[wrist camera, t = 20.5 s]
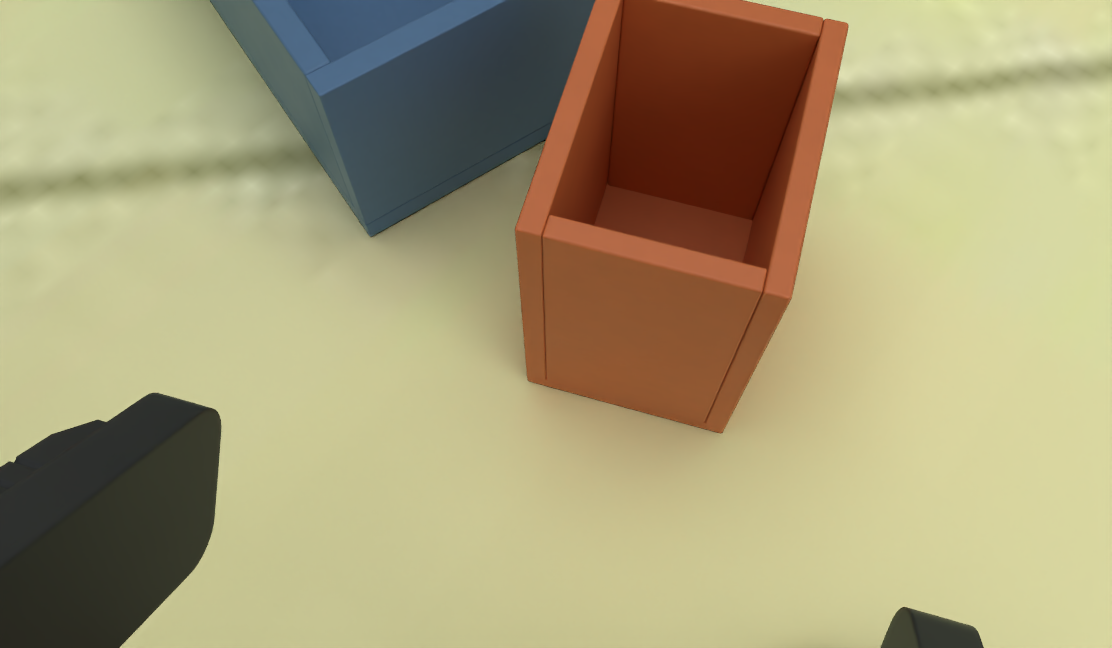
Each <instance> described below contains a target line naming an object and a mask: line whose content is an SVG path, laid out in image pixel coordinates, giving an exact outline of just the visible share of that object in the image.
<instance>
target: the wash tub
mask: <svg viewBox="0 0 1112 648" xmlns="http://www.w3.org/2000/svg"><path fill="white" fill-rule="evenodd" d="M210 2H211V3H212V5H213V6H214V8H215V9H216V11H217V12H218V13H219V15H220V16H221V18H222V19H223V21H224V22H225V24H226V25H227V27H228V28H229V30H230V31H231V33H232V34H233V36H234V37H235V39H236V40H237V41H238V43H239V44H240V46H241V47H242V49H243V50H244V52H245V53H246V55H247V56H248V58H249V59H250V61H251V62H252V64H253V65H254V67H255V68H256V69H257V71H258V72H259V74H260V75H261V77H262V78H263V80H264V81H265V83H266V84H267V86H268V87H269V89H270V90H271V92H272V93H273V95H274V96H275V97H276V99H277V100H278V102H279V103H280V105H281V106H282V108H283V109H284V111H285V112H286V114H287V115H288V117H289V118H290V120H291V121H292V123H293V124H294V125H295V127H296V128H297V130H298V131H299V133H300V134H301V136H302V137H303V139H304V140H305V142H306V143H307V145H308V146H309V148H310V149H311V151H312V152H313V153H314V155H315V156H316V158H317V159H318V161H319V162H320V164H321V165H322V167H323V168H324V170H325V171H326V173H327V174H328V176H329V177H330V179H331V180H332V181H333V183H334V184H335V186H336V187H337V189H338V190H339V192H340V193H341V195H342V196H343V198H344V199H345V201H346V202H347V204H348V205H349V206H350V208H351V209H352V211H353V212H354V214H355V215H356V217H357V218H358V220H359V221H360V223H361V224H362V226H363V227H364V229H365V230H366V232H367V233H368V234H369V236H370V237H372V236H374V235H375V234H377V233H379V232H381V231H382V230H384V229H386V228H388V227H390V226H391V225H393V224H395V223H397V222H399V221H400V220H402V219H404V218H406V217H407V216H409V215H411V214H413V213H415V212H416V211H418V210H420V209H422V208H423V207H425V206H427V205H429V204H431V203H432V202H434V201H436V200H438V199H440V198H441V197H443V196H445V195H447V194H448V193H450V192H452V191H454V190H456V189H457V188H459V187H461V186H463V185H465V184H466V183H468V182H470V181H472V180H473V179H475V178H477V177H479V176H481V175H482V174H484V173H486V172H488V171H489V170H491V169H493V168H495V167H497V166H498V165H500V164H502V163H504V162H506V161H507V160H509V159H511V158H513V157H514V156H516V155H518V154H520V153H522V152H523V151H525V150H527V149H529V148H531V147H532V146H534V145H536V144H538V143H539V142H541V141H543V140H545V139H547V136H548V133H549V130H550V128H551V125H552V122H553V119H554V116H555V113H556V111H557V108H558V105H559V102H560V99H561V96H562V93H563V91H564V88H565V85H566V82H567V79H568V76H569V74H570V71H571V68H572V65H573V62H574V59H575V56H576V54H577V51H578V48H579V45H580V42H581V39H582V37H583V34H584V31H585V28H586V25H587V22H588V19H589V17H590V14H591V11H592V8H593V5H594V2H595V0H210Z"/></svg>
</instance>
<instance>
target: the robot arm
mask: <svg viewBox="0 0 1112 648" xmlns="http://www.w3.org/2000/svg"><path fill="white" fill-rule="evenodd" d="M220 440H221V419H220V416H219V414H218V412H217V411H216V410H215V409H212V408H209V407H205V406H202V405H198V404H195V403H191V402H188V401H184V400H181V399H177V398H174V397H170V396H167V395H163V394H160V393H151V394H148V395H146V396H145V397H143V398H142V399H140V400H139V401H137V402H136V403H134V404H133V405H131V406H130V407H128V408H127V409H125V410H124V411H123V412H121V413H120V414H118V415H117V416H115V417H114V418H112V419H111V420H109V421H108V422H104V421H100V420H95V421H92V422H89V423H86V424H83V425H80V426H76V427H73V428H70V429H67V430H64V431H61V432H58V433H54V434H51V435H50V436H48V437H47V438H45V439H44V440H42V441H40V442H39V443H37V444H36V445H34V446H33V447H31V448H30V449H28V450H26V451H25V452H23V453H22V454H20V455H19V456H17V457H16V460H15V462H14V463H13V462H8V463H6V464H5V465H3V466H2V467H0V648H119V647H120V646H121V645H122V644H123V643H124V642H125V641H126V640H127V639H128V638H129V637H130V636H131V635H132V634H133V633H134V632H135V631H136V630H137V629H138V628H139V627H140V626H141V625H142V623H143V622H144V621H145V620H146V619H147V618H148V617H149V616H150V615H151V614H152V613H153V612H154V611H155V610H156V609H157V608H158V607H159V606H160V605H161V604H162V603H163V602H164V601H165V599H166V598H167V597H168V596H169V595H170V594H171V593H172V592H173V591H174V590H175V589H176V588H177V587H178V586H179V585H180V584H181V583H182V582H183V581H184V580H185V579H186V578H187V576H188V575H189V574H190V573H191V572H192V571H193V570H194V568H195V567H196V566H197V564H198V563H199V561H200V559H201V558H202V556H203V554H204V552H205V550H206V547H207V545H208V542H209V540H210V537H211V533H212V529H213V525H214V517H215V504H216V491H217V479H218V466H219V453H220ZM881 648H984V647H983V645H982V642H981V639H980V636H979V634H978V631H977V630H976V629H975V628H974V627H973V626H970V625H966V624H963V623H959V622H956V621H952V620H949V619H945V618H942V617H938V616H935V615H931V614H928V613H924V612H921V611H917V610H914V609H910V608H907V607H903V608H901V609H899V610H898V611H897V613H896V614H895V616H894V617H893V619H892V621H891V624H890V626H889V628H888V631H887V633H886V636H885V638H884V641H883V643H882V645H881Z"/></svg>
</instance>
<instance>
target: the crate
mask: <svg viewBox="0 0 1112 648" xmlns="http://www.w3.org/2000/svg"><path fill="white" fill-rule="evenodd" d="M847 32H848V24H847V23H845V22H840V21H835V20H831V19H825V20H824V21H823V18H821V17H817V16H812V15H808V14H803V13H799V12H794V11H789V10H785V9H780V8H776V7H771V6H766V5H762V4H757V3H753V2H748V1H743V0H595V2H594V5H593V8H592V11H591V14H590V17H589V19H588V22H587V25H586V28H585V31H584V34H583V37H582V39H581V42H580V45H579V48H578V51H577V54H576V56H575V59H574V62H573V65H572V68H571V71H570V74H569V76H568V79H567V82H566V85H565V88H564V91H563V93H562V96H561V99H560V102H559V105H558V108H557V111H556V113H555V116H554V119H553V122H552V125H551V128H550V130H549V133H548V136H547V139H546V142H545V145H544V148H543V150H542V153H541V156H540V159H539V162H538V165H537V167H536V170H535V173H534V176H533V179H532V182H531V185H530V187H529V190H528V193H527V196H526V199H525V202H524V204H523V207H522V210H521V213H520V216H519V219H518V222H517V224H516V227H515V236H516V248H517V260H518V272H519V284H520V296H521V308H522V320H523V332H524V344H525V356H526V368H527V377H528V381H530V382H534V383H538V384H541V385H545V386H549V387H552V388H556V389H560V390H563V391H567V392H571V393H575V394H578V395H582V396H586V397H589V398H593V399H597V400H600V401H604V402H608V403H611V404H615V405H619V406H622V407H626V408H630V409H634V410H637V411H641V412H645V413H648V414H652V415H656V416H659V417H663V418H667V419H670V420H674V421H678V422H681V423H685V424H689V425H692V426H696V427H700V428H704V429H707V430H711V431H715V432H718V433H722V432H723V431H724V429H725V427H726V425H727V423H728V421H729V419H730V417H731V415H732V413H733V411H734V409H735V407H736V405H737V403H738V401H739V399H740V398H741V396H742V394H743V392H744V390H745V388H746V386H747V384H748V382H749V380H750V378H751V376H752V374H753V372H754V370H755V368H756V366H757V364H758V363H759V361H760V359H761V357H762V355H763V353H764V351H765V349H766V347H767V345H768V343H769V341H770V339H771V337H772V335H773V333H774V331H775V329H776V328H777V326H778V324H779V322H780V320H781V318H782V316H783V314H784V312H785V310H786V308H787V306H788V304H789V302H790V300H791V298H792V294H793V289H794V284H795V280H796V275H797V270H798V265H799V260H800V256H801V251H802V246H803V241H804V237H805V232H806V227H807V222H808V218H809V213H810V208H811V203H812V198H813V194H814V189H815V184H816V179H817V175H818V170H819V165H820V160H821V156H822V151H823V146H824V141H825V136H826V132H827V127H828V122H829V117H830V113H831V108H832V103H833V98H834V94H835V89H836V84H837V79H838V74H839V70H840V65H841V60H842V55H843V51H844V46H845V41H846V36H847Z"/></svg>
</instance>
